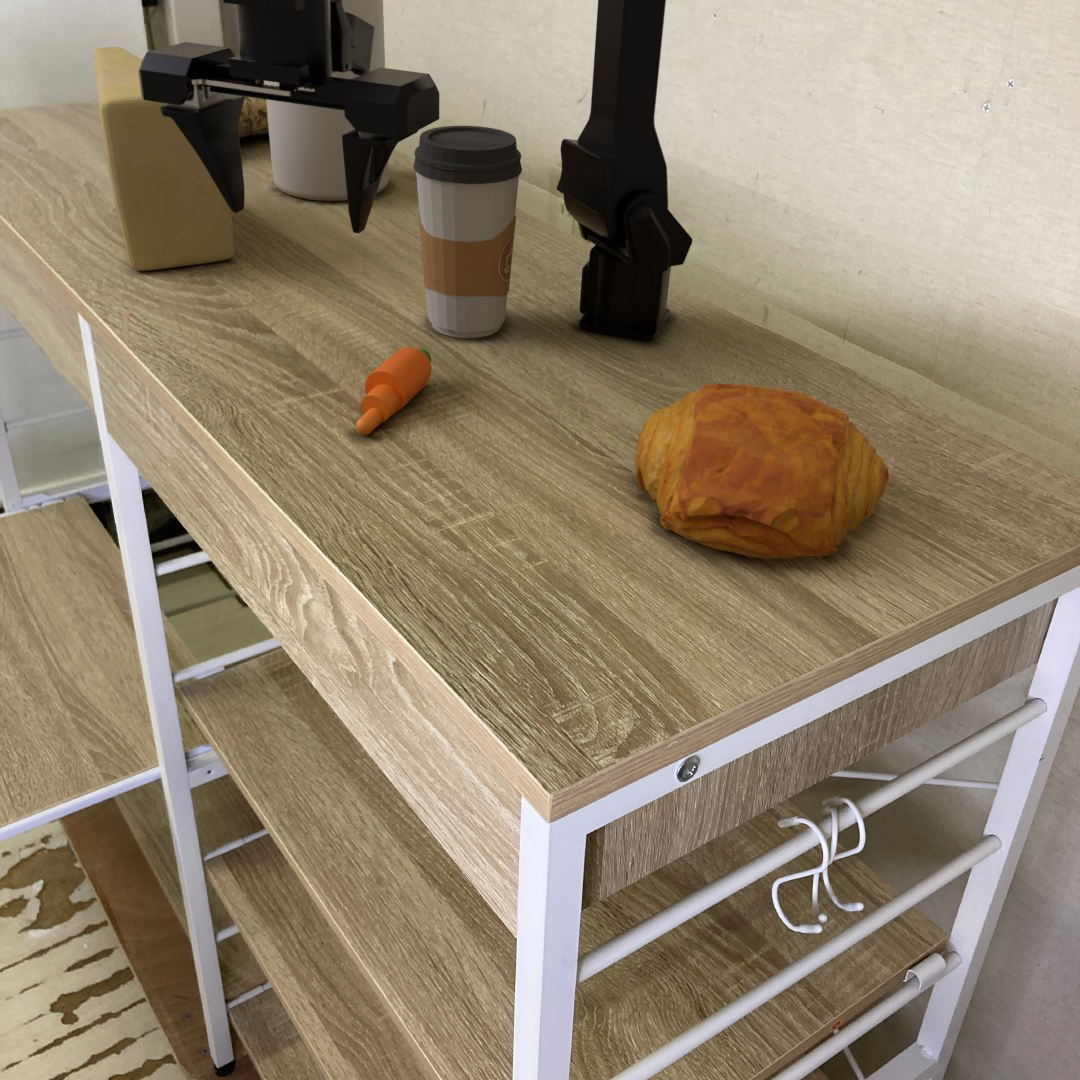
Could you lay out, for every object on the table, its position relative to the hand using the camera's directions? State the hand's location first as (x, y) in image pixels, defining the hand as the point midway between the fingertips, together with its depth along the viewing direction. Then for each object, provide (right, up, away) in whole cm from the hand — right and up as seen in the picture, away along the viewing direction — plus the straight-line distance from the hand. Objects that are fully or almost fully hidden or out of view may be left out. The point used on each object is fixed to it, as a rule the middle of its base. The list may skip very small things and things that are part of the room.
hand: (297, 221), depth 75 cm
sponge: (-22, +26, +58) cm, 68 cm away
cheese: (-21, +8, +32) cm, 39 cm away
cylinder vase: (-6, +17, +46) cm, 50 cm away
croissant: (+30, -20, -5) cm, 36 cm away
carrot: (+6, -12, +4) cm, 14 cm away
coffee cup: (+10, -4, +16) cm, 20 cm away
